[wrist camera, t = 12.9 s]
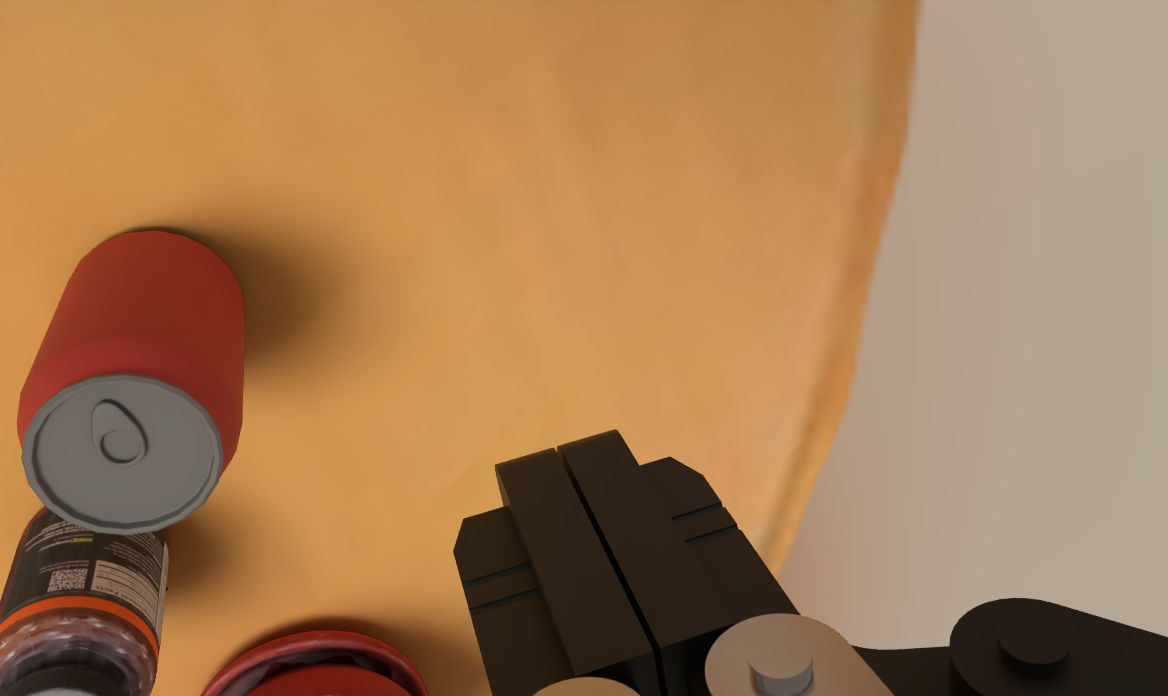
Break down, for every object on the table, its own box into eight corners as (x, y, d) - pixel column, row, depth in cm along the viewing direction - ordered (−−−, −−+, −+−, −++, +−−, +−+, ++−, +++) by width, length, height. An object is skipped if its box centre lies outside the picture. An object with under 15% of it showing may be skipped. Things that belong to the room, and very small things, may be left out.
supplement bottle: (81, 619, 46) (35, 828, 37) (-11, 530, 43) (-89, 731, 34) (199, 553, 47) (184, 743, 37) (115, 460, 44) (75, 640, 34)
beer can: (216, 207, 40) (201, 335, 30) (265, 354, 43) (267, 516, 33) (39, 247, 39) (-39, 395, 29) (103, 395, 42) (52, 576, 32)
